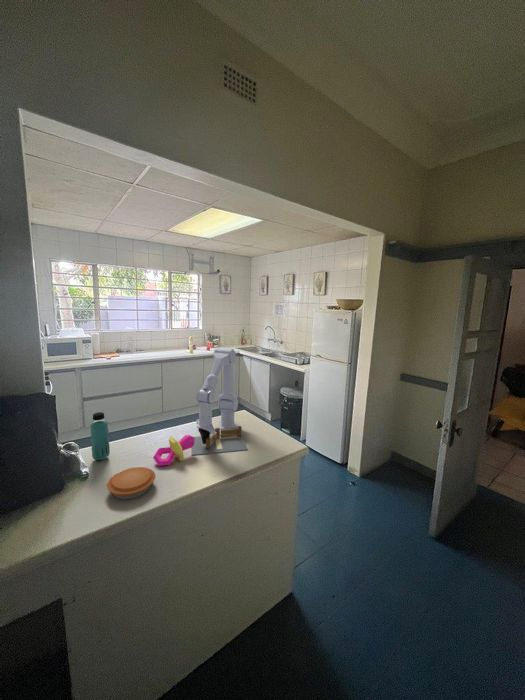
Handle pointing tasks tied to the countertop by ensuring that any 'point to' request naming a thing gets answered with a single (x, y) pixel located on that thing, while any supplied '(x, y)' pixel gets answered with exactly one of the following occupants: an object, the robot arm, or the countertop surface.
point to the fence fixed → (228, 432)
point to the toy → (174, 450)
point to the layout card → (219, 445)
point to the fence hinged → (211, 440)
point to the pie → (131, 482)
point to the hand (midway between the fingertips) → (205, 443)
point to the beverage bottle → (99, 437)
